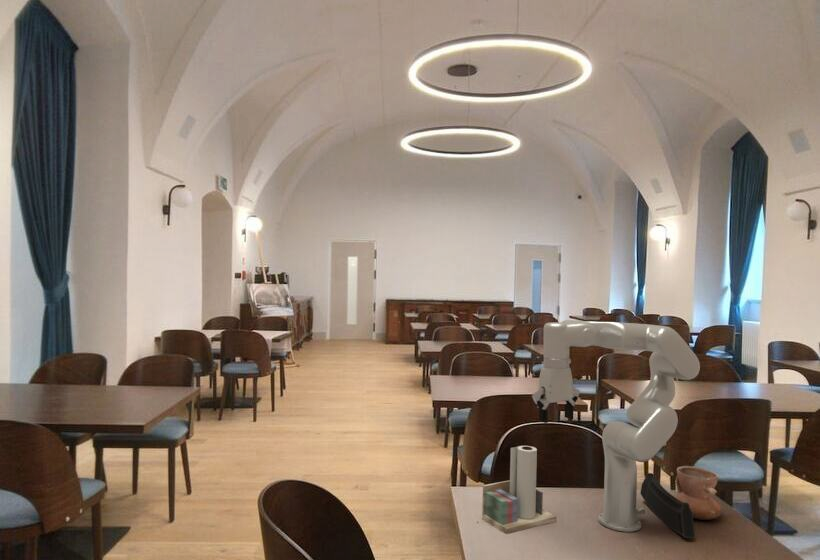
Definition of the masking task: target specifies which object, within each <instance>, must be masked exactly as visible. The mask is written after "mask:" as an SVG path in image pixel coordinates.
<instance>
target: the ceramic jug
mask: <svg viewBox="0 0 820 560" xmlns="http://www.w3.org/2000/svg"><path fill="white" fill-rule="evenodd" d="M676 474H677V475H676V479H675V485H676V489H677V493H678V494H677V493H676V495H673V496H674V497H675V498H677V499H678V500H680V501H681V502H684V503H688V504H689V508H690V509H691V511H692V515H693V520H701V521H706V520H707V521H709V520H714V519H717V518H718V517H720V516H721V514H722V506H721V505H720V504H719V502H717V501H716V500H715V499H714V498H713V497H712V495H714V494H715V493H716V494H717V493H718V491H717V490H716V489H715V488H716V486H717V484H718V480H719V475H718V474H717V473H716V472H714V471H711V470H708V469H704V468H702V467H701V468H700V467H696V466H689V465H683V466H678V467H677V468H676Z"/></svg>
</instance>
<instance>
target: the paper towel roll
mask: <svg viewBox="0 0 820 560" xmlns="http://www.w3.org/2000/svg"><path fill="white" fill-rule="evenodd" d="M537 453H538V449H537V447H535V446H530V445H518V446H515V447H510V456H509V457H510V462H509V480H510V495H512V496H514V497H516V498H518V517H520V518H524V519H532V518H534V517H535V511H536V489H537V469H538V468H537V465H538V464H537V463H538V461H537V460H538V458H537V457H538V454H537Z"/></svg>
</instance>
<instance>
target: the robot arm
mask: <svg viewBox="0 0 820 560" xmlns="http://www.w3.org/2000/svg"><path fill="white" fill-rule="evenodd" d="M590 346H596V347H601V348H605V349H611V350H625V351H641V352H643V351H645V352H652V353H651V355H650V357H649V360H648V361H649V369H650V378H649V379H650V380H649V382H648V384H647V385H646V387H645V388H644V389H643V391H641V393H640V394H639V395H638V396H637V397H636V399H634V401H633V402H632V403H631V404H630V405H629V407H628V408H627V411H626V417H627V420H628V421H629V424H628V423H626V422H625V421H624V422H623V421H617V420H615V421H610V422H609V423H607V424H606V425H605V426H604V428H603V431H602V435H601V441H602V448H603V454H604V479H603V480H604V483H603V484H604V485H603V486H604V488H603V512H601V513H600V514H599V515H598V518H597V519H598V522H599V523H600V524H601V525H602V526H604V527H606V528H608V529H610V530H613V531H616V532H617V531H618V532H625V533H626V532H629V533H630V532H631V533H632V532H636V531H639V530H640V529H641V528H642V522H641V520H640V519H639V516H640V515H643V514H645V513H646V509H645V508H644V507H642V506H641V507H638V508H637V490H638V489H637V487H638V485H637V482H638V465H637V463H646V462H648V461H650V460H651V459H653V458H654V457H655V456H656V455H657V453H658V452H659V451H660V450H661V449H662V448H663V447H664V446H665V444H666V443H667V442H668V441H669V440H670V438H671V437H672V436H673V435H674V433H675V431H676V429H677V427H678V420H679V418H678V413H677V412H676V410H675V409H674V408H673V407H672V406H670V405H671V403H672V402H673V401H674V400H675V399H674V398H675V397H676V385H675V379H679V380H684V381H689V380H692V379H694V378H696V377H697V376H698V375H699V373H700V369H701V363H700V361H699V358H698V357H697V355H696V353H694V351H693V350H692V348H691V347H690V346H689V344H688V343H687V342H686V341H685V340H684V339H683V337H682V336H681V335H680V334H679V333H678V332H677V331H676V330H675V329H674V328H672V327H670V326H666V325H658V324H646V323H636V322H635V323H632V322H617V321H588V320H587V321H585V320H573V319H565V320H562V321H560V322H557V321H556V322H546V323H545V324H544V326H543V367H541V369H540V373H539V379H538V388H537V389H538V390H536V391H535V392H534V393H533V394H532V395H531V397H532V400H533V402H534V404H535V405H536V408H538V410H539V411H538V418H539V419H538V420H539V422H542V423H544V424H548V422H549V410H548V409H547V408H548V406H549V404H551V403H559V402H564V403H565V404H564V418H566V419H569V420H574V407H575V405H576V402H577V400H578V398H579V395H580V393H581V391H580V389H578V388H576V387H574V385H573V383H574V382H573V374H572V370H571V367H570V364H571V362H572V359H571V358H570V347H581V348H586V347H590ZM630 423H631V424H630Z"/></svg>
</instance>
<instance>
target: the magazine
mask: <svg viewBox="0 0 820 560" xmlns="http://www.w3.org/2000/svg"><path fill="white" fill-rule="evenodd" d="M640 495H641V497H642V498H643V500H644V502H645V503H646V504H647V506H648V507H649V508H650V510H651V511H652V512H653V513H654V515H656V517H657V518H658V519H659V520H660V521H661V522H662V523H663V524H665V525H666V526H667V527H668V528H669V529H671V530H672V531H673V532H675V533H677V534H679V535H681V536H682V537H683V538H685V539H695V538H696V533H695V525H694V518H693V515H692V511H691V509H690V508H689V504H688V503H684V502H681V501H680V500H678V499H677V498H675V497H674V496H675V495H672V494H671V493H670V492H669V491H667V490H666V489H665V488H664V487H663V486H662V484H660V482H659V481H658V480H657V478H656V477H655V476H654V474H653V473H652V472H651V473H650V472H648V473H647V474H646V477H644V480H643V481H642V483H641V487H640Z"/></svg>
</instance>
